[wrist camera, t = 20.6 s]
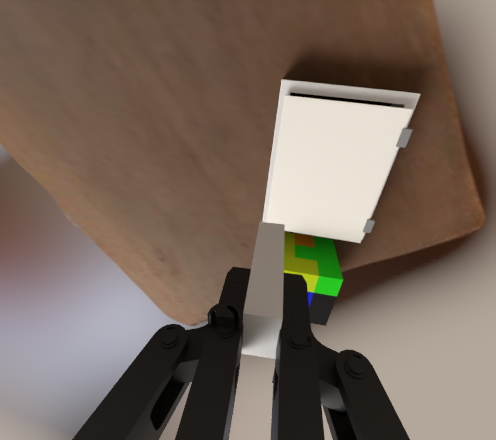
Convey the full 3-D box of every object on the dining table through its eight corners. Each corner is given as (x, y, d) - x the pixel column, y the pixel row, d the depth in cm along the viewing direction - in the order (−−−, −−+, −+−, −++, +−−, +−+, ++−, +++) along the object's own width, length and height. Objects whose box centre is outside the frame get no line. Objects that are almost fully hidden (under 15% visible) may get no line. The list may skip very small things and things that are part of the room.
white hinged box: (282, 79, 32) (281, 79, 29) (406, 91, 31) (420, 93, 28) (264, 212, 42) (261, 224, 39) (356, 225, 41) (362, 239, 38)
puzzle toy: (268, 272, 49) (263, 314, 41) (275, 230, 44) (271, 268, 36) (319, 281, 48) (325, 325, 40) (332, 239, 43) (343, 279, 35)
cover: (284, 94, 29) (284, 95, 28) (416, 109, 28) (420, 110, 27) (265, 224, 38) (265, 228, 38) (363, 240, 37) (365, 244, 36)
